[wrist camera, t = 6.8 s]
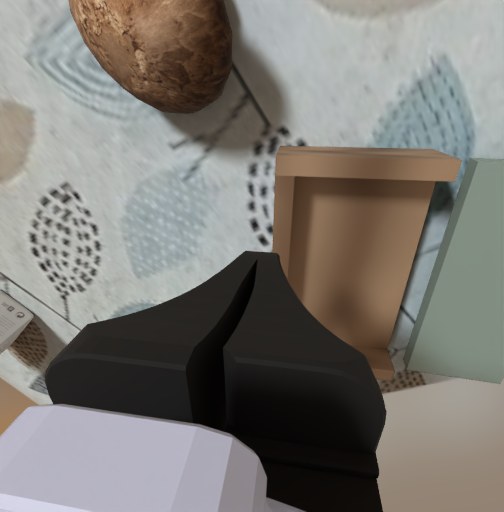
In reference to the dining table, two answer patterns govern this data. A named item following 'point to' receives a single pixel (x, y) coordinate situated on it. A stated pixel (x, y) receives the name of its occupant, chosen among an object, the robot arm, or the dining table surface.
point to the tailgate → (466, 285)
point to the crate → (354, 234)
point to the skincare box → (11, 320)
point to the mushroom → (160, 48)
